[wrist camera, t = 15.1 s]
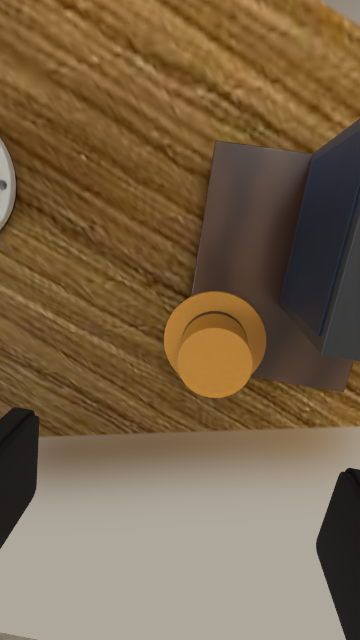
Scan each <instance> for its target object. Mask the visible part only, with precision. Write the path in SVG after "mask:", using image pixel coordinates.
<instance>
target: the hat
mask: <svg viewBox="0 0 360 640" xmlns="http://www.w3.org/2000/svg"><path fill="white" fill-rule="evenodd" d="M164 347H165V352H166V355H167V358H168V360H169V362H170V364H171V365H172V367H173V368H174V369H175V371H176V372H177V373H178V374H179V375H180V377H181V379H182V380H183V382H184V383H185V384H186V386H187V387H188V388H190V389H191V390H192V391H194V392H195V393H197V394H199V395H202V396H205V397H209V398H221V397H226V396H229V395H232V394H234V393H236V392H237V391H239V390H240V389H241V388H242V387H243V386H244V385H245V384H246V383H247V381H248V380H249V378H250V375H251V374H252V373H253V372H254V371H255V370H256V369H257V367H258V366H259V364H260V363H261V361H262V358H263V356H264V353H265V348H266V332H265V328H264V325H263V322H262V320H261V318H260V316H259V315H258V313H257V312H256V310H255V309H254V308H253V307H252V306H251V305H250V304H249V303H248V302H247V301H245V300H244V299H242V298H240V297H239V296H237V295H234V294H231V293H228V292H224V291H207V292H202V293H198V294H195V295H193V296H191V297H189V298H188V299H186V300H184V301H183V302H182V303H181V304H179V306H178V307H177V308H176V309H175V310H174V311H173V313H172V314H171V316H170V318H169V320H168V322H167V325H166V328H165V333H164Z"/></svg>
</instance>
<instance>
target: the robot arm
mask: <svg viewBox="0 0 360 640" xmlns="http://www.w3.org/2000/svg"><path fill="white" fill-rule="evenodd" d="M6 184H7V188H6ZM15 195H16V179H15V171H14V167H13V164H12V160H11V157H10V155H9V153H8V151H7V148H6V146H5V144H4V143H3V141H2V140H1V138H0V230H1V228H2V227H3V226H4V224H5V223H6V222H7V220H8V218H9V216H10V214H11V212H12V209H13V205H14V201H15ZM38 436H39V417H38V416H35V413H34V411H33V410H28V409H23V408H17V407H14V408H12V409H11V410H10V411H9V412H8V413H7V414H6V415H5V416H3V417H2V418H1V419H0V548H1V547H2V545H3V544H4V542H5V541H6V539H7V538H8V536H9V534H10V533H11V531H12V530H13V528H14V527H15V525H16V524H17V522H18V520H19V519H20V517H21V516H22V514H23V513H24V511H25V509H26V508H27V506H28V505H29V503H30V502H31V500H32V498H33V496H34V494H35V490H36V481H37V459H38ZM316 549H317V554H318V557H319V560H320V563H321V566H322V569H323V572H324V575H325V578H326V581H327V584H328V587H329V590H330V593H331V596H332V599H333V602H334V604H335V608H336V611H337V614H338V616H339V620H340V623H341V626H342V629H343V632H344V635H345V638H346V640H360V470H358V469H353V468H348V469H347V470H346V471H345V472H341V473H340V475H339V477H338V480H337V482H336V485H335V488H334V491H333V494H332V497H331V500H330V503H329V506H328V509H327V512H326V514H325V518H324V520H323V523H322V526H321V529H320V532H319V535H318V538H317V542H316ZM0 640H35V639H30V638H25V637H19V636H15V635H9V634H4V633H0Z"/></svg>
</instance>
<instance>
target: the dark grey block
mask: <svg viewBox="0 0 360 640" xmlns="http://www.w3.org/2000/svg"><path fill="white" fill-rule="evenodd" d="M278 305H279V306H280V307H281V308H282V310H283V311H284V312H285V313H286V314H287V315H288V317H289V318H290V319H291V320H292V321H293V322H294V323H295V325H296V326H297V327H298V328H299V329H300V330H301V332H302V333H303V334H304V335H305V336H306V337H307V339H308V340H309V341H310V342H311V343H312V344H313V345H314V347H315V348H316V349H317V350H318V351H319V352H320V354H321V355H326V356H332V357H338V358H344V359H350V360H356V361H360V119H359V120H357V121H356V122H355V123H353V124H352V125H351V126H349V127H348V128H347V129H345V130H344V131H343V132H341V133H340V134H339V135H337V136H336V137H335V138H333V139H332V140H331V141H329V142H328V143H327V144H325V145H324V146H323V147H321V148H320V149H319V150H317V151H316V152H315V153H313V156H312V160H311V165H310V169H309V173H308V178H307V182H306V186H305V191H304V195H303V200H302V204H301V208H300V213H299V217H298V221H297V226H296V230H295V234H294V239H293V243H292V247H291V252H290V256H289V261H288V265H287V269H286V274H285V278H284V282H283V287H282V291H281V295H280V300H279V304H278Z"/></svg>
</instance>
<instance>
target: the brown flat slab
mask: <svg viewBox="0 0 360 640" xmlns="http://www.w3.org/2000/svg"><path fill="white" fill-rule="evenodd" d="M312 156H313V154H311V153H304V152H296V151H289V150H282V149H274V148H267V147H259V146H252V145H245V144H237V143H230V142H223V141H216V142H215V147H214V153H213V160H212V166H211V173H210V179H209V185H208V192H207V198H206V205H205V211H204V217H203V224H202V230H201V237H200V243H199V249H198V256H197V262H196V269H195V275H194V282H193V288H192V294H191V296H193V295H195V294H198V293H202V292H207V291H224V292H228V293H231V294H234V295H237V296H239V297H240V298H242V299H244V300H245V301H247V302H248V303H249V304H250V305H251V306H252V307H253V308H254V309H255V310H256V312H257V313H258V315H259V316H260V318H261V320H262V322H263V325H264V328H265V332H266V348H265V353H264V356H263V358H262V361H261V363H260V364H259V366H258V367H257V369H256V370H255V371H254V372H253V373H252V374H251V375H250V376H251V377H256V378H262V379H268V380H274V381H280V382H286V383H291V384H297V385H303V386H309V387H315V388H320V389H326V390H332V391H338V392H344V390H345V387H346V383H347V380H348V377H349V373H350V370H351V367H352V364H353V360H350V359H344V358H338V357H332V356H326V355H321V354H320V352H319V351H318V350H317V349H316V348H315V347H314V345H313V344H312V343H311V342H310V341H309V340H308V339H307V337H306V336H305V335H304V334H303V333H302V332H301V330H300V329H299V328H298V327H297V326H296V325H295V323H294V322H293V321H292V320H291V319H290V318H289V317H288V315H287V314H286V313H285V312H284V311H283V310H282V308H281V307H280V306H279V305H278V304H279V300H280V295H281V291H282V287H283V282H284V278H285V274H286V269H287V265H288V261H289V256H290V252H291V247H292V243H293V239H294V234H295V230H296V226H297V221H298V217H299V213H300V208H301V204H302V200H303V195H304V191H305V186H306V182H307V178H308V173H309V169H310V165H311V160H312Z"/></svg>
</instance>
